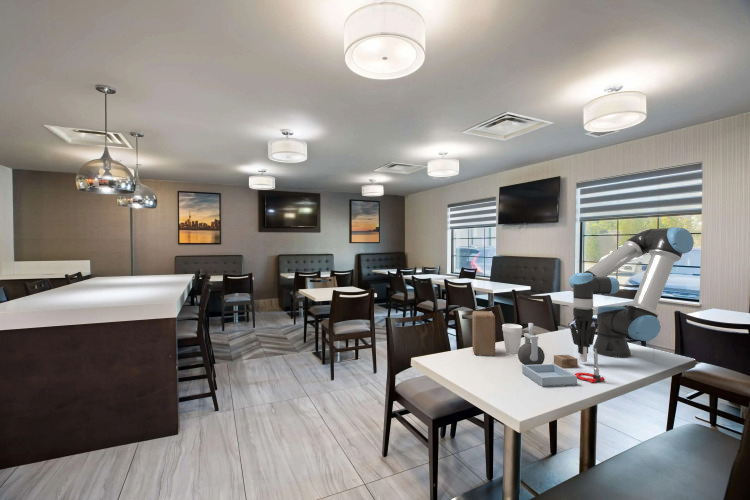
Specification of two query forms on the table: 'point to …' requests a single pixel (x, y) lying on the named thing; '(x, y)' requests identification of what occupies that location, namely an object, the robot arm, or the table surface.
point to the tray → (549, 375)
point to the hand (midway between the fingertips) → (583, 360)
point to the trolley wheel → (531, 349)
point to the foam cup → (512, 337)
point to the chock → (565, 361)
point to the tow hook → (596, 371)
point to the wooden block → (483, 333)
